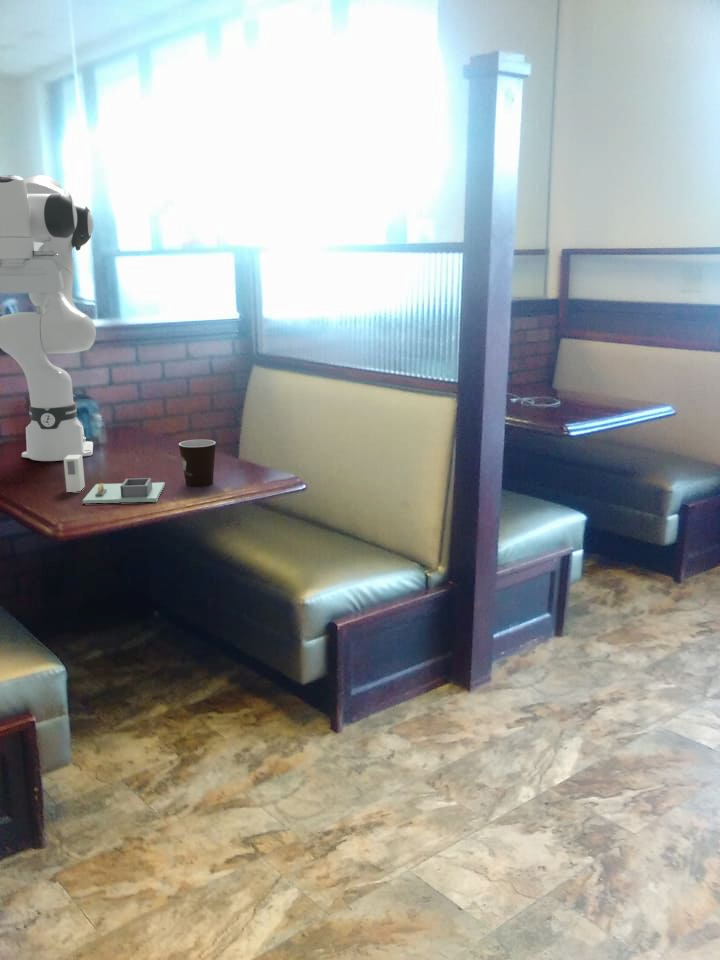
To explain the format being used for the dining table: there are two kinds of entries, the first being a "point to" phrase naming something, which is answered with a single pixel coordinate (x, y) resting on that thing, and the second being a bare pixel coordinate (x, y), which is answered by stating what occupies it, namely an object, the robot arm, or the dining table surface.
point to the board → (126, 491)
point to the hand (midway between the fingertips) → (19, 313)
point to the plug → (74, 473)
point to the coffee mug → (198, 462)
